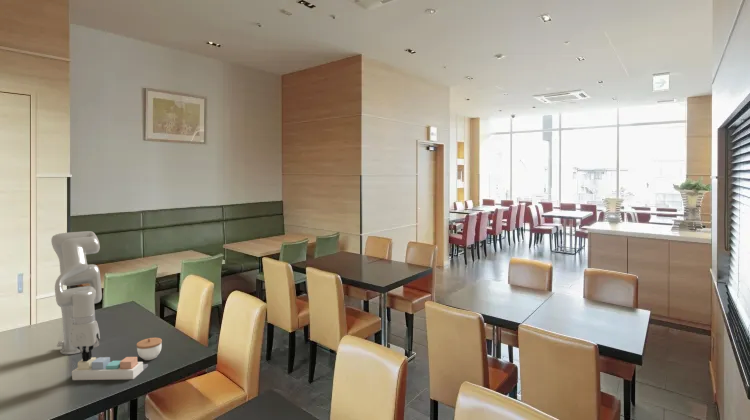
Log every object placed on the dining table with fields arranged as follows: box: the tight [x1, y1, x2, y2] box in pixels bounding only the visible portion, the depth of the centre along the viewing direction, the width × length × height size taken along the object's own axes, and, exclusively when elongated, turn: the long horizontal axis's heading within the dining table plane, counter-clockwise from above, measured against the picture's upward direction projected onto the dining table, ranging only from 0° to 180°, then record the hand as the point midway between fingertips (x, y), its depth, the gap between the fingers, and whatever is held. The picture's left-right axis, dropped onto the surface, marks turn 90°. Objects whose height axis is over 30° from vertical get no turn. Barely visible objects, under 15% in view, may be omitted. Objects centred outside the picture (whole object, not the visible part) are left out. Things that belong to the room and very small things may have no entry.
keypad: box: [71, 361, 149, 381], centre depth 175 cm, size 26×12×4 cm, turn 92°
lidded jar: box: [135, 337, 163, 361], centre depth 190 cm, size 11×11×9 cm
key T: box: [106, 360, 121, 369], centre depth 173 cm, size 5×5×5 cm
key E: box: [77, 356, 97, 370], centre depth 173 cm, size 5×5×5 cm
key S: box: [92, 356, 111, 370], centre depth 173 cm, size 5×5×5 cm
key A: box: [119, 356, 139, 369], centre depth 173 cm, size 5×5×5 cm
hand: (87, 359), depth 172 cm, fingers closed
